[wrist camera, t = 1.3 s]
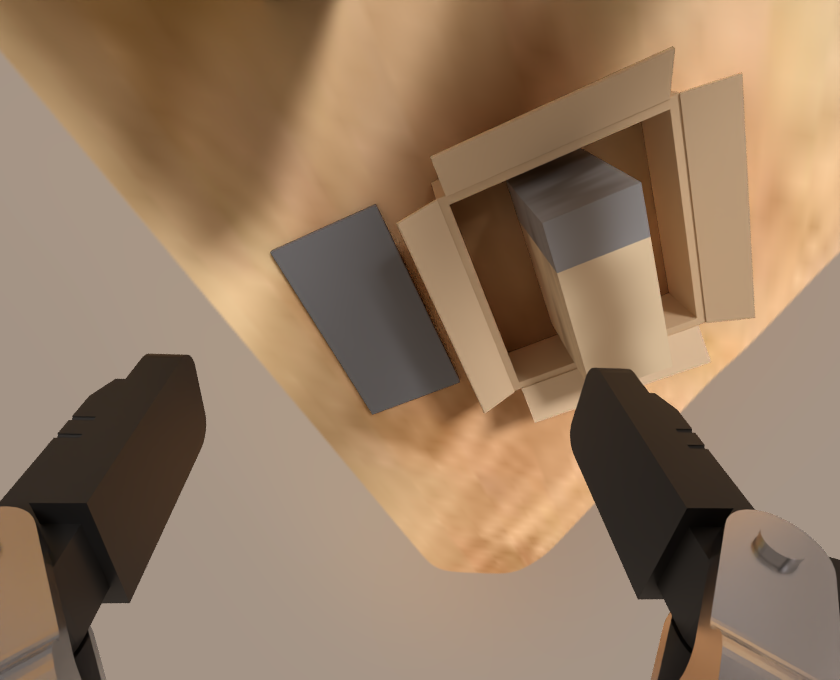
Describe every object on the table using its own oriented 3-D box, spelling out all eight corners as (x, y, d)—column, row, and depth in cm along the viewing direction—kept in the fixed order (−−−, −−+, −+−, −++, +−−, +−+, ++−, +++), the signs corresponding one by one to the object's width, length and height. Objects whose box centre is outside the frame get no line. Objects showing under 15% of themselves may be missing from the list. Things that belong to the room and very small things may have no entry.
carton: (684, 19, 28) (741, 16, 23) (714, 311, 38) (758, 347, 34) (378, 161, 31) (376, 181, 26) (483, 394, 41) (495, 437, 37)
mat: (375, 204, 32) (375, 205, 32) (459, 379, 40) (460, 382, 40) (271, 250, 34) (270, 252, 33) (372, 411, 42) (372, 414, 41)
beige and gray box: (579, 147, 31) (641, 182, 23) (614, 299, 37) (672, 366, 29) (505, 179, 32) (542, 223, 24) (551, 323, 38) (592, 394, 30)
